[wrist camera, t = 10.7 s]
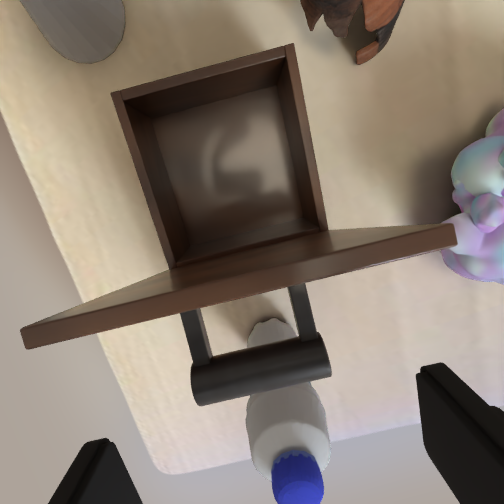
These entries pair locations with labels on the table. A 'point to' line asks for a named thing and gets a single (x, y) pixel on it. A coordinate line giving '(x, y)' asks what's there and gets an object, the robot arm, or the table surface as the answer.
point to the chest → (225, 156)
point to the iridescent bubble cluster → (479, 207)
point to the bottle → (288, 431)
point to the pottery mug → (342, 11)
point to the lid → (239, 286)
